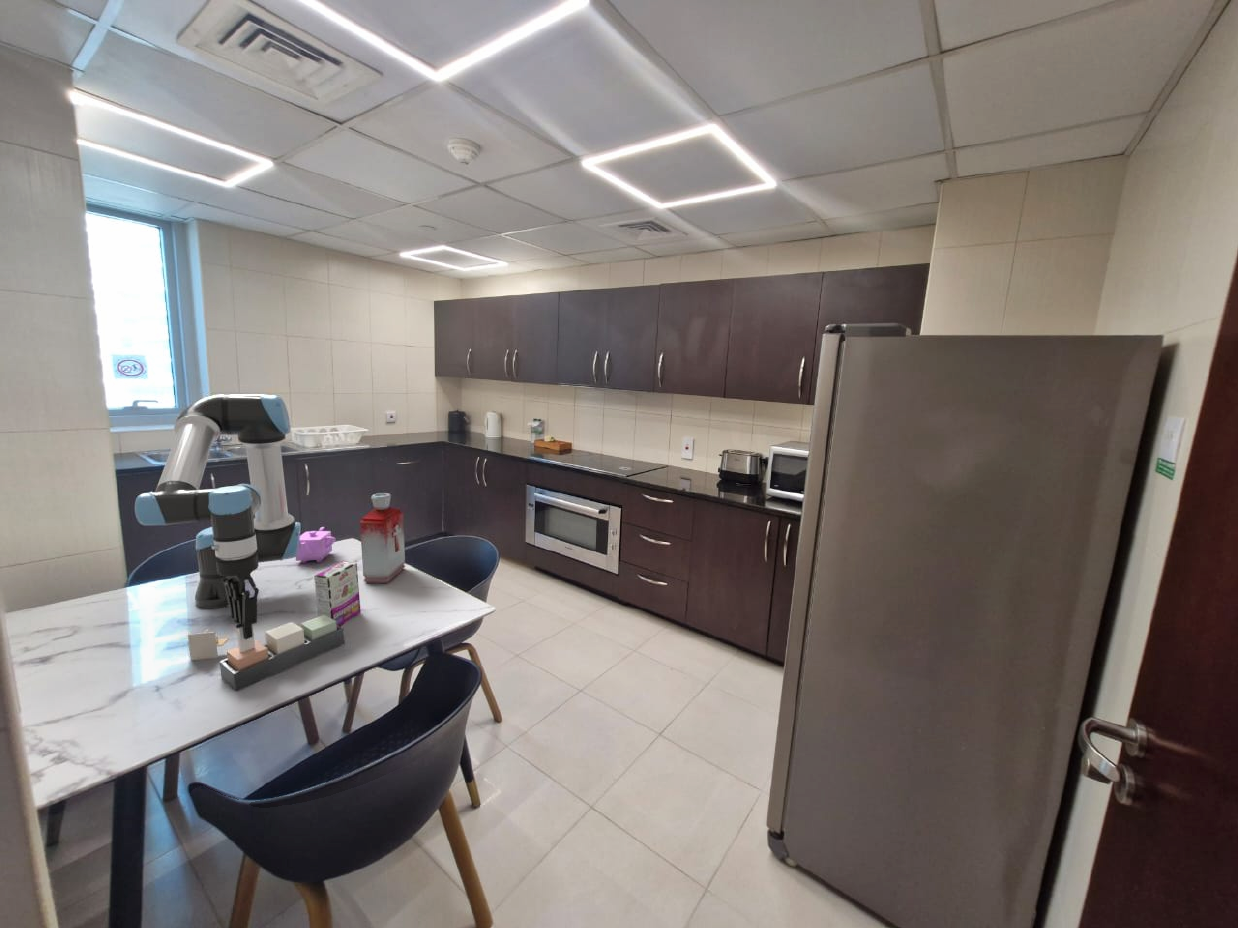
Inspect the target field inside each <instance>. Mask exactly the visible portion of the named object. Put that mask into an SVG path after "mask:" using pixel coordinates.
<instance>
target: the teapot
mask: <svg viewBox="0 0 1238 928" xmlns="http://www.w3.org/2000/svg"><path fill="white" fill-rule="evenodd" d="M324 529H325V526H322V527H320V528H319V530H311V531H305V532H303V533H302V534H300V542H299V550H298V554H297V556H296V557H295V562H297V561H298V562H300V563H302V564H303V563H307V562H308V561H316V563H321V562H323V559H325V558H327V557H328V556H329V554H330V552H332V551H333V546H332V545H334V544H335V542H336V538H335V537H334V536H332V533H331V532H332V531H331V530H324Z"/></svg>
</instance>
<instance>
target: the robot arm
mask: <svg viewBox="0 0 1238 928" xmlns="http://www.w3.org/2000/svg"><path fill="white" fill-rule="evenodd" d="M290 422H291V421H290V417H289V412H288V409H287V406H286V403H285V401H284V400H283V398H282V397H280V396H279V395H270V394H263V393H262V394H259V393H258V394H257V393H256V394H225V393H224V394H223V393H219V394H212V395H208V396H206V397H202V398H200V399H198V400H196V401H194V402H193V403H191V404H189V406H187V407H186V408H185V409H184V410H182V412H181V413H180V415H178V416H177V419H176V421H175V424H174V432H175V434H176V435H175V437H174V441H173V442H172V446H171V449H170V451H169V454H168V457H167V459H166V462H165V464H164V467H163V469H162V473H161V474H160V475H161V476H160V477H159V480H158V484H157V486H156V489H155V491H154V492H153V491H150V492H144V493H141V494H139V495H138V496H137V497H136V498H135V502H134V514H135V517H136V520H137V522H138V523H139V524H140V525H142V526H146V527H147V526H148V527H149V526H168V525H175V524H176V525H177V524H179V525H180V524H186V523H187V524H189V523H199V522H200V523H201V522H210V524H211V526H210V527H207V528H204V529H202V530H201V531H200V532H198V533H197V534H196V536H195V547H194V549H195V550H196V557H197V564H198V571H199V580H198V581H199V582H198V585H197V587H196V588H197V589H196V592H195V595H194V600H195V605H196V606H197V607H199V608H202V609H216V608H217V609H219V608H224V607H228V609H229V613H230V619H232V620H233V621H234V623H235V624H236V625H235V628H236V634H237V643H238V647H239V651H240V652H245V651H247V650H250V649H252V648H255V640H256V639H255V633H254V624H258V595H259V593H260V592H259V591H260V590H259V588H258V587H257V584H256V582H255V581H254V579H253V577H252V575H251V574H252V572H254V571H256V570H257V569H258V568H259V563H260V564H261V563H267V562H274V561H275V562H276V561H283V560H289V559H293V558H296V556H297V554H298V550H299V542H300V536H301V522H298V521H295V517H294V516H293V515H292V514H290V513H289V512H288V510H289V509H288V500H287V493H286V492H287V491H286V483H285V474H284V473H285V472H284V466H283V456H282V448H281V444H282V443H283V442H284V441H285V440H286V438H287V437H286V435H288V434H290V433H291V429H292V428H291V423H290ZM223 435H228V436H229V435H232V436H233V435H236V436H237V440H238V443H240V444H242V445H243V446H244V447H245V452H246V458H247V466H248V474H249V481H250V483H239V484H236V485H232V486H224V487H223V486H222V487H218V488H206V489H200V487H201V483H202V481H203V476H204V473H205V470H206V467H207V463H208V459H209V456H210V453H211V449H212V446H213V443H214V442H216V441H217V440H218V438H219V437H220V436H223Z"/></svg>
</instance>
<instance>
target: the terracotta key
mask: <svg viewBox="0 0 1238 928" xmlns="http://www.w3.org/2000/svg"><path fill="white" fill-rule="evenodd" d="M254 640H255V648H252V649H250V650H247V651H245V652H240V651H239V646H237V647H234V648H231V649H229V650H226V656H227V658H228V665H229V666H230V667H231V668H232V669H233V670H235V671H239V670H241V669H243V668H246V667H248V666H251V665H253V664H256V663H258V662H261V661H263V660H265V659H268V658H269V657H268V648H267V647H265V646H264V644H263V643H261V642H260V641H259V640H257V639H254Z"/></svg>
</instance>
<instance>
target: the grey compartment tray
mask: <svg viewBox="0 0 1238 928" xmlns="http://www.w3.org/2000/svg"><path fill="white" fill-rule="evenodd" d="M336 626H337V630H336V631H334V632H331V633H329V634H326V635H324V636H322V637H319V638H317V639H314V640H312V641H310V640H309V639H307V638H305V637H304V644H302V645H300V646H297V647H295V648H292V649H290V650H287V651H285V652H282V653H280V654H278V655H274V654H273V653H271V652H270V651H269V650H268V657H269V658H268V659H265V660H263V661H261V662H258V663H256V664H253V665H251V666H248V667H246V668H243V669H241V670H239V671H235V670H233V669H232V668H231V667H230V666H229V665H228V657H227V658H225V659H222V660H220V661H219V669H220V677H221V678H220V679H221V680H222V681H223V682H225V683H226V684H227V685H228V686H229V687H230V688H231V689H232V690H234V691H235V692H238V691H240V690H241V691H242V690H243V689H245V688H248V687H249V686H252V685H254V684H256V683H259V682H261V681H264V680H266V679H268V678H270V677H273V676H274V675H276V674H279V673H280V674H281V672H285V671H287V670H288V669H291V668H293V667H295V666H298V665H299V664H302V663H304V662H307V661H309V660H312V659H314V658H316V657H319V656H321V655H322V654H325V653H327V652H329V651H331V650H334V649H336V648H338V647H341V646H343V645H345V643H346V642H345V630H344V628H343V627H342V626H338V625H336ZM263 645H264V646H265V647H267V644H266V643H264V644H263Z"/></svg>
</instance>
